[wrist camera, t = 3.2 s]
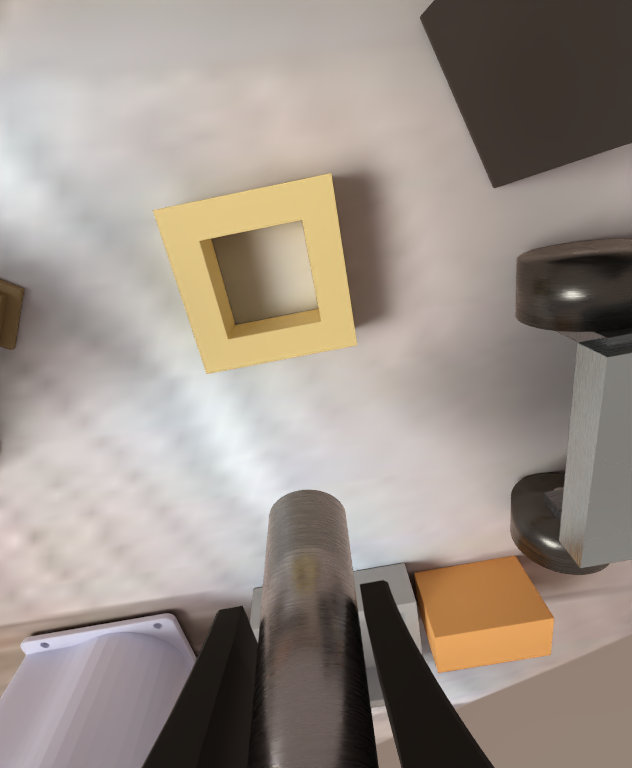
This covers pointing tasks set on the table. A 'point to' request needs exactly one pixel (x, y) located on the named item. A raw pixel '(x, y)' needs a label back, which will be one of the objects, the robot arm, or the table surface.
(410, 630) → the tray
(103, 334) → the table surface
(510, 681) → the table surface
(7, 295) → the eiffel tower
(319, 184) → the socket block
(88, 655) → the robot arm
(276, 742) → the pin
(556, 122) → the phone stand
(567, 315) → the toy wheeled cart
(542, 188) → the table surface
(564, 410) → the table surface
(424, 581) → the block
